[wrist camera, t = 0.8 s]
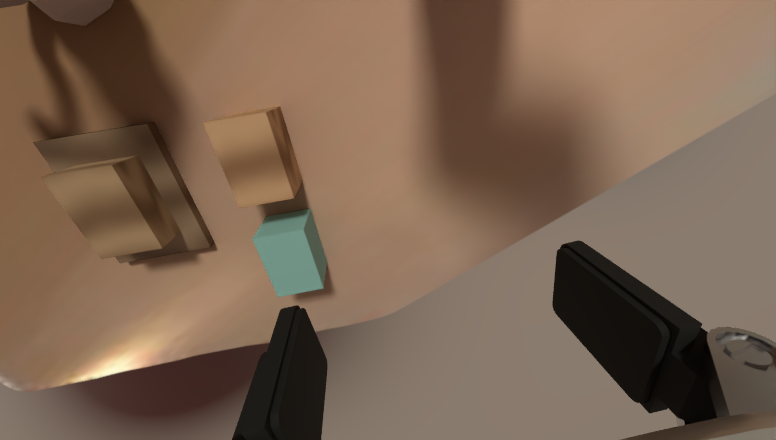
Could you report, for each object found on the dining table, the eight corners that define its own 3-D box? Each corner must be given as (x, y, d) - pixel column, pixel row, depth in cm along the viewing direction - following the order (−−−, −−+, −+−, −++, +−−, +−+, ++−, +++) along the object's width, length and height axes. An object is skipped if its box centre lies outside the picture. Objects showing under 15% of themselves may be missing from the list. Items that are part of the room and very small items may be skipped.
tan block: (227, 115, 32) (202, 123, 27) (280, 106, 33) (265, 112, 27) (256, 188, 37) (239, 208, 31) (302, 180, 37) (294, 198, 31)
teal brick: (266, 216, 38) (252, 239, 33) (310, 208, 39) (303, 229, 33) (287, 269, 43) (278, 297, 37) (327, 261, 43) (323, 288, 37)
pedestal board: (43, 140, 31) (-10, 151, 27) (153, 122, 32) (119, 130, 27) (126, 258, 39) (95, 282, 34) (214, 242, 39) (195, 265, 35)
